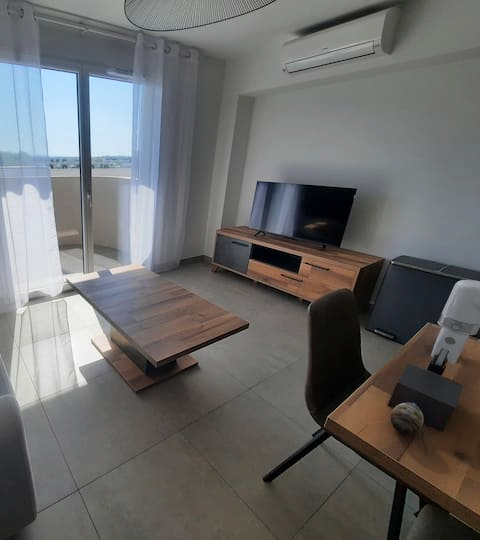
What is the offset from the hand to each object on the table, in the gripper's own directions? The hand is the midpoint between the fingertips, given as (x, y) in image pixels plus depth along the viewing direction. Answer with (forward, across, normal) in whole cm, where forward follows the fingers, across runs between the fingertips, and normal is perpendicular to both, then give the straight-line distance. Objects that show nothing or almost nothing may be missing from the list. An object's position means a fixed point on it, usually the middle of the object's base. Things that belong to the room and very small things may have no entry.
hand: (433, 374), depth 88 cm
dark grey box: (+4, -14, 0) cm, 14 cm away
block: (+4, +27, 0) cm, 27 cm away
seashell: (+4, -27, +1) cm, 28 cm away
